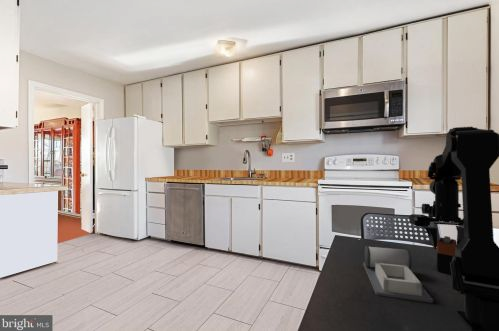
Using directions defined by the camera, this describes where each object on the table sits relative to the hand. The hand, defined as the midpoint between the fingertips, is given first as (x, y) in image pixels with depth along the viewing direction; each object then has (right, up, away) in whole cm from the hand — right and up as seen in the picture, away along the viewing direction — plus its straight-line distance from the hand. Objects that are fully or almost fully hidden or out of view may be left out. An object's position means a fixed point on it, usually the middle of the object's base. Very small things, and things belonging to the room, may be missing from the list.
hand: (446, 249), depth 76 cm
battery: (0, -6, 0) cm, 7 cm away
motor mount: (-21, -6, -7) cm, 23 cm away
